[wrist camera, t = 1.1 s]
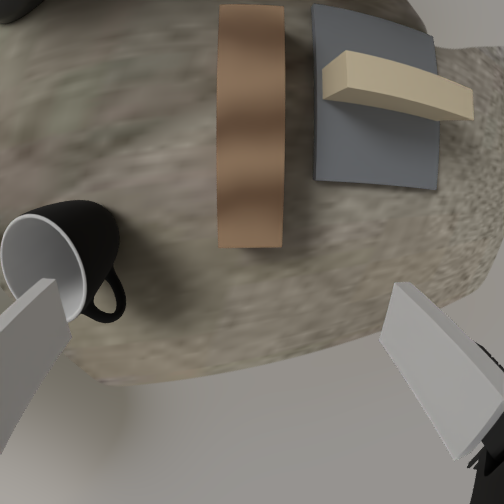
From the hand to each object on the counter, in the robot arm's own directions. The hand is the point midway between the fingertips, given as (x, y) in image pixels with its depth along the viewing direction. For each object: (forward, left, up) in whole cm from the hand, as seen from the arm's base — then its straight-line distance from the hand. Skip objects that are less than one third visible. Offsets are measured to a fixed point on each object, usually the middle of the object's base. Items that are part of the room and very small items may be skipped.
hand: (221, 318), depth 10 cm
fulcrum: (-12, +15, -18) cm, 26 cm away
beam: (-8, +2, -18) cm, 20 cm away
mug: (+3, -13, -18) cm, 22 cm away
